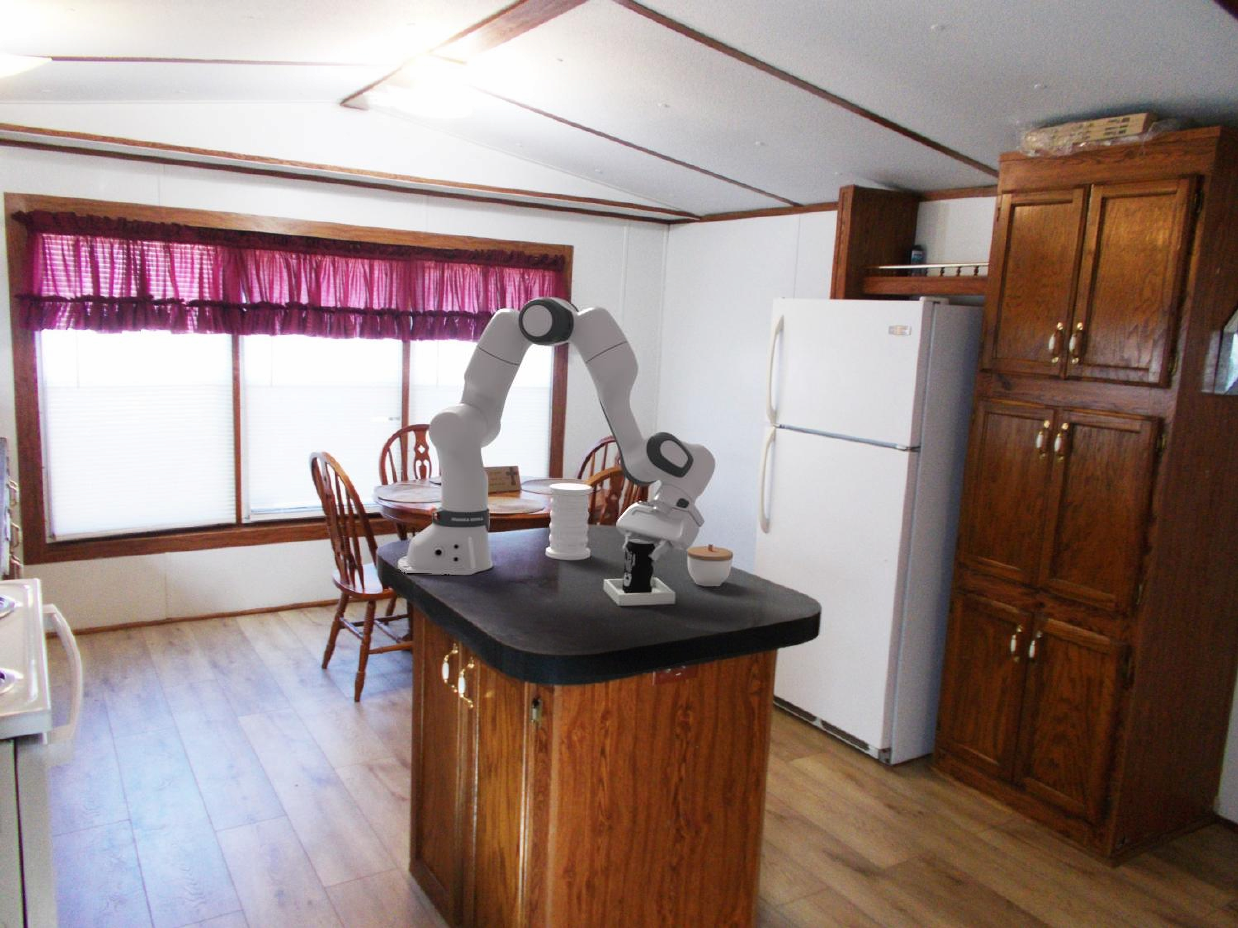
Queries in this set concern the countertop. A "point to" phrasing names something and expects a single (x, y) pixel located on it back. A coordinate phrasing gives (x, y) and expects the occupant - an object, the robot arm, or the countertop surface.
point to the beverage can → (638, 566)
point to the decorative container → (569, 521)
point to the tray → (639, 594)
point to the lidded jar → (709, 564)
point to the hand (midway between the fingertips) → (638, 555)
